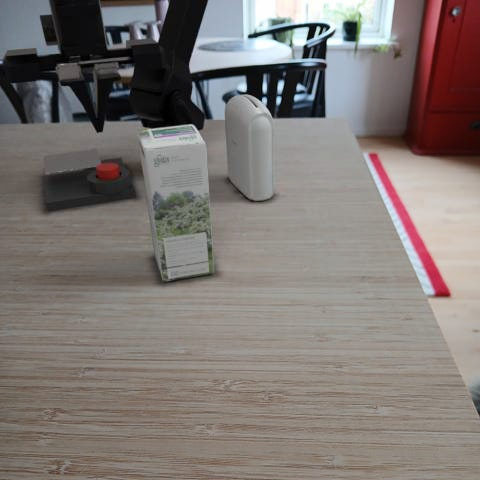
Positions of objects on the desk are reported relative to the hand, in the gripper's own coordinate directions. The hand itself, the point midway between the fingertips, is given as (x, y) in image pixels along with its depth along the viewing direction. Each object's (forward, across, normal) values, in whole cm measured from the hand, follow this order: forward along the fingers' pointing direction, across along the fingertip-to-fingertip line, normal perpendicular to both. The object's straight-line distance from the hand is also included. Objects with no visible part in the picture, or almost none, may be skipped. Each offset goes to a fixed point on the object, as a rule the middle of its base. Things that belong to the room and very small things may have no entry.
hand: (99, 131), depth 68 cm
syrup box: (+9, -5, +23) cm, 26 cm away
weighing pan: (+6, +4, -7) cm, 10 cm away
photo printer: (+9, -19, +5) cm, 22 cm away
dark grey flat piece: (+9, +3, -5) cm, 10 cm away
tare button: (+6, 0, 0) cm, 6 cm away
